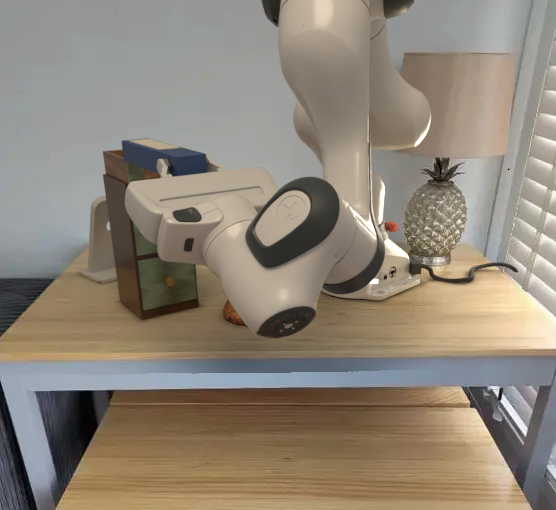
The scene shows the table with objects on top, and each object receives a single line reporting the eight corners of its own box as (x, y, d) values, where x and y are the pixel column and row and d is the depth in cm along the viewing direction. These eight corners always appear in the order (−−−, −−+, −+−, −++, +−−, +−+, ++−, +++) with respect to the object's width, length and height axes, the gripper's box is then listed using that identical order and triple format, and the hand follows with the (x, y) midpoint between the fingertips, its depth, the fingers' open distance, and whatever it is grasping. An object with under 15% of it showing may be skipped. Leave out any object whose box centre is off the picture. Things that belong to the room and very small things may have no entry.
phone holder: (142, 256, 151) (133, 181, 142) (167, 265, 144) (159, 187, 136) (78, 273, 140) (65, 193, 131) (102, 284, 133) (90, 200, 125)
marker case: (150, 158, 96) (148, 137, 95) (207, 177, 82) (206, 152, 80) (123, 161, 94) (121, 139, 93) (177, 180, 80) (175, 155, 78)
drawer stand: (174, 289, 130) (160, 141, 116) (202, 309, 120) (191, 149, 106) (120, 301, 124) (98, 146, 110) (145, 323, 114) (125, 156, 100)
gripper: (303, 200, 79) (253, 134, 84) (154, 223, 69) (110, 146, 75) (289, 237, 84) (243, 172, 89) (149, 263, 74) (107, 188, 79)
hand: (181, 160), depth 82 cm, fingers closed on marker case, 4 cm apart
